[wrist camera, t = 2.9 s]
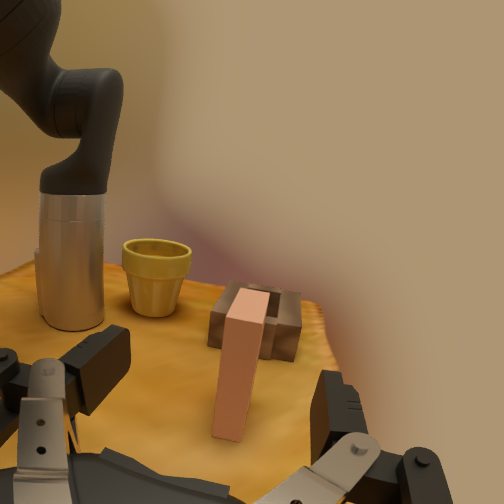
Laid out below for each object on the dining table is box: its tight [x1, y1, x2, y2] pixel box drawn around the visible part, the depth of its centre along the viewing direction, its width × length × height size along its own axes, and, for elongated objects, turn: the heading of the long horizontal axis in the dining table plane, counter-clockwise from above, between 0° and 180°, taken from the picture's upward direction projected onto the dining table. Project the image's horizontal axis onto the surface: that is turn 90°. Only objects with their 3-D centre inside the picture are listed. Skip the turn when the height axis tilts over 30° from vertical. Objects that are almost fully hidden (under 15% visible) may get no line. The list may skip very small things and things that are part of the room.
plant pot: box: [122, 239, 192, 317], centre depth 45 cm, size 10×10×10 cm
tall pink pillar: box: [212, 288, 270, 442], centre depth 25 cm, size 2×6×12 cm, turn 172°
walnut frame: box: [207, 281, 302, 362], centre depth 43 cm, size 11×13×5 cm
